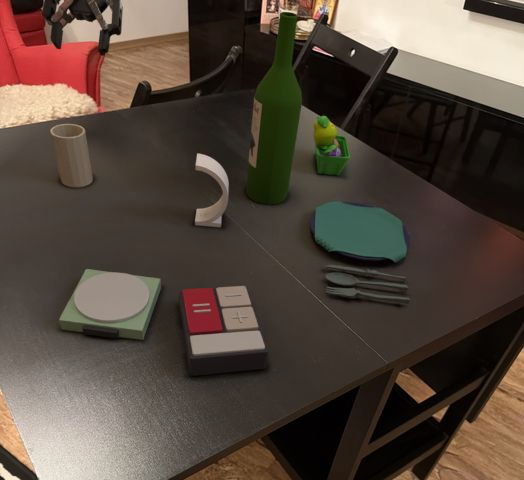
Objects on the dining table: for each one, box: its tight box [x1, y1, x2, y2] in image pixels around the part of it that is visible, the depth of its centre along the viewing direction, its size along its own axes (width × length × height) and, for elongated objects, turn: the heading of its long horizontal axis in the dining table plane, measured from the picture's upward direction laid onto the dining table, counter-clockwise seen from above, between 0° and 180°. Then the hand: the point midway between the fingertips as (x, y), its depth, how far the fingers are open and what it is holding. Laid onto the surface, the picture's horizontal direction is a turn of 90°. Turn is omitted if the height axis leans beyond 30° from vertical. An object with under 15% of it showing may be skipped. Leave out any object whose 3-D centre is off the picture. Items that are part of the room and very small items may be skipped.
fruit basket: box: [312, 115, 351, 176], centre depth 111 cm, size 11×9×11 cm
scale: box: [58, 268, 162, 341], centre depth 73 cm, size 12×13×3 cm
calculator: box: [178, 285, 269, 377], centre depth 71 cm, size 11×4×15 cm
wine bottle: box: [245, 11, 303, 205], centre depth 91 cm, size 9×9×32 cm
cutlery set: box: [309, 200, 411, 305], centre depth 91 cm, size 20×30×2 cm, turn 174°
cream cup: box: [49, 123, 94, 188], centre depth 95 cm, size 6×6×10 cm
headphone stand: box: [194, 152, 230, 228], centre depth 89 cm, size 5×6×12 cm
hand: (79, 50), depth 91 cm, fingers open, 8 cm apart
